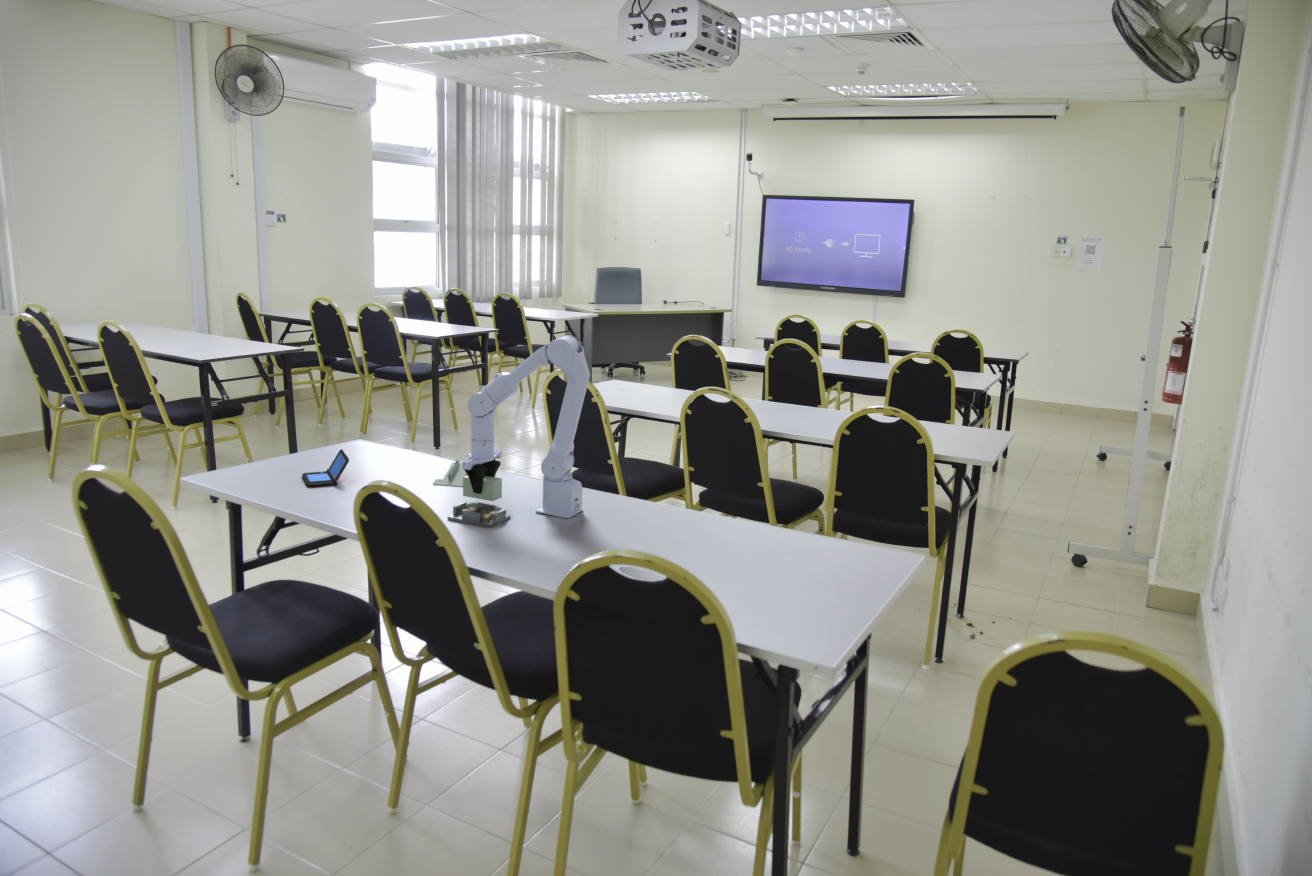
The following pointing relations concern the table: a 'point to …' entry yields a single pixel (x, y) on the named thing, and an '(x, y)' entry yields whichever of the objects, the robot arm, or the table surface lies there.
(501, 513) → the chassis
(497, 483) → the pale green box
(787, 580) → the table surface
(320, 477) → the handheld game console
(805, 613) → the table surface
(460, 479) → the metal bracket
